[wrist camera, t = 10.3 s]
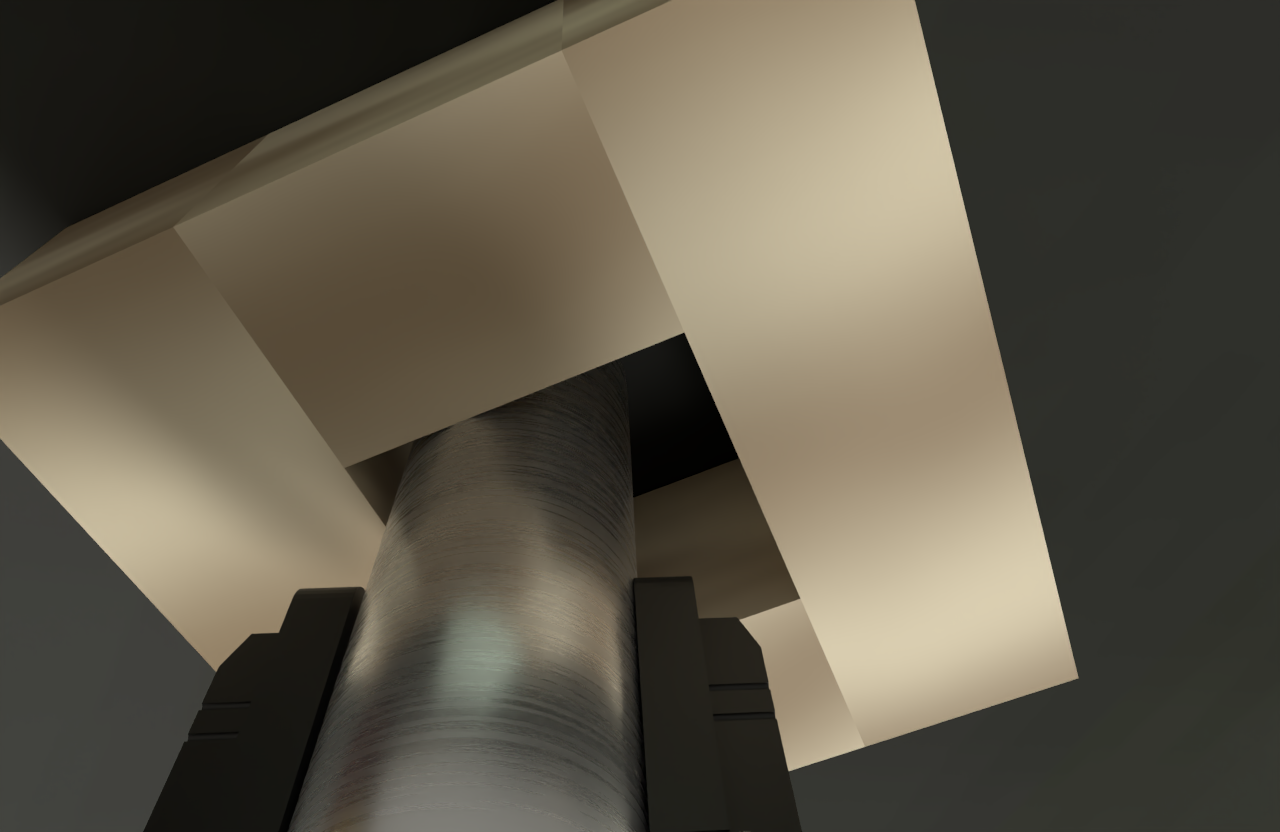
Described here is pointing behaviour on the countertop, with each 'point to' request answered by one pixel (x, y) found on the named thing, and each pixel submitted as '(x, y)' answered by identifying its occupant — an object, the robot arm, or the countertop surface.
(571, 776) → the flashlight
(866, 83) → the block
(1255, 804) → the countertop surface
